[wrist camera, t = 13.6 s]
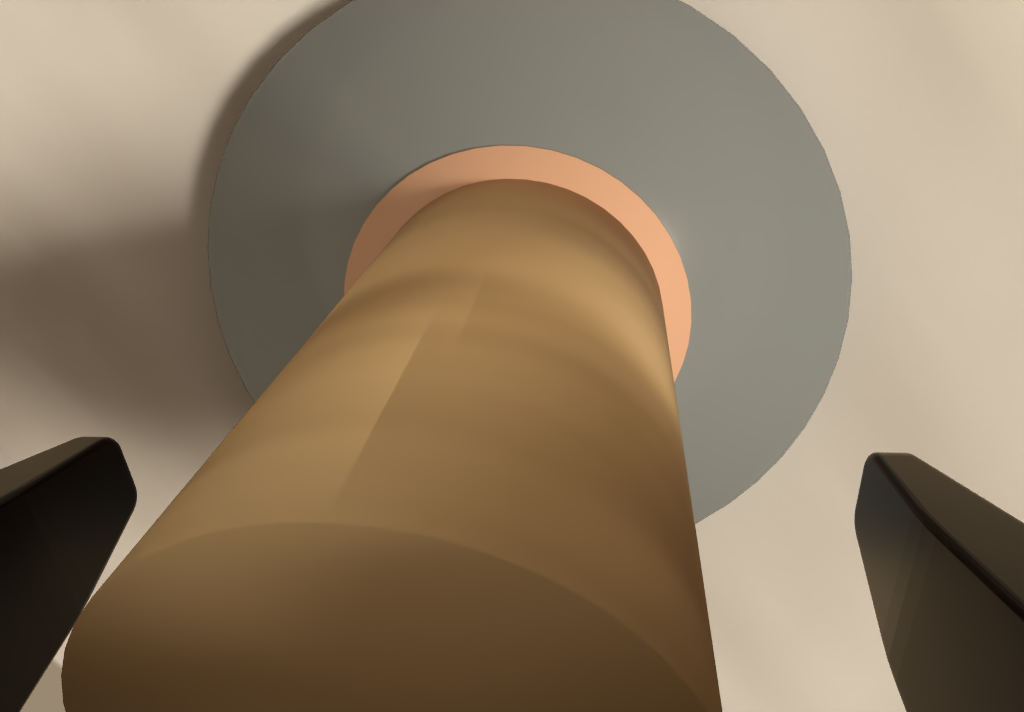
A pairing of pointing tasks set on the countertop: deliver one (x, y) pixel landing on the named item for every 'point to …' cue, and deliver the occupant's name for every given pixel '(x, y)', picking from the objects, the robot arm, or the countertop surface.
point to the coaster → (559, 161)
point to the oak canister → (435, 498)
